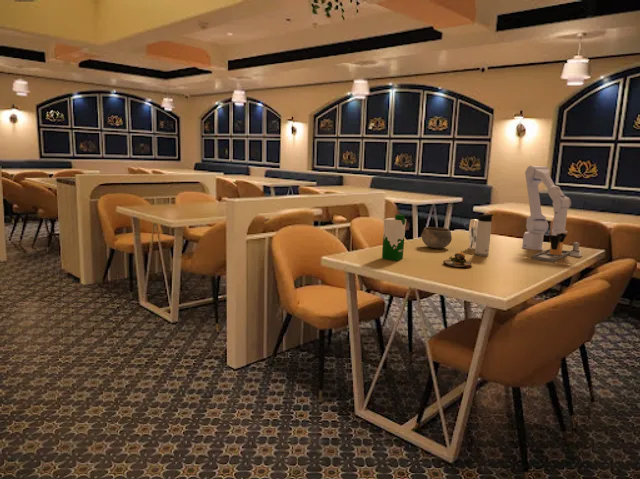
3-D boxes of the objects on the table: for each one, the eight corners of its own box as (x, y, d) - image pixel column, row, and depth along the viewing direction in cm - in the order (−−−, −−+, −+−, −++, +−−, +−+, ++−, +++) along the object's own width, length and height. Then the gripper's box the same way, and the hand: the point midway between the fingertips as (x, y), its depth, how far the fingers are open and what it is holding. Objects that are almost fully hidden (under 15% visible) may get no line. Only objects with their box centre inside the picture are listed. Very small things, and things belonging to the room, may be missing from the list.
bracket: (568, 256, 247) (568, 250, 246) (570, 255, 250) (571, 249, 250) (578, 258, 244) (579, 252, 243) (581, 256, 247) (581, 250, 247)
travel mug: (489, 256, 237) (494, 215, 234) (475, 255, 238) (479, 214, 235) (488, 254, 243) (492, 213, 240) (474, 253, 245) (478, 212, 241)
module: (549, 254, 248) (551, 241, 247) (552, 253, 251) (553, 240, 250) (559, 255, 245) (560, 242, 244) (561, 254, 248) (563, 241, 247)
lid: (531, 259, 236) (531, 255, 236) (540, 255, 246) (540, 252, 245) (553, 262, 230) (554, 259, 229) (561, 259, 239) (562, 255, 239)
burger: (437, 263, 218) (439, 246, 216) (460, 262, 222) (461, 246, 221) (454, 270, 207) (455, 252, 205) (477, 268, 211) (479, 251, 210)
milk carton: (398, 261, 217) (401, 216, 213) (379, 258, 221) (381, 214, 218) (405, 258, 224) (408, 214, 221) (386, 255, 228) (389, 212, 225)
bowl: (416, 245, 260) (417, 226, 258) (442, 245, 264) (443, 226, 263) (429, 250, 247) (431, 230, 245) (456, 250, 251) (458, 230, 250)
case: (539, 255, 245) (540, 252, 245) (550, 251, 258) (550, 248, 257) (561, 259, 239) (561, 255, 238) (570, 255, 251) (571, 251, 251)
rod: (571, 256, 247) (573, 242, 246) (572, 256, 249) (574, 242, 248) (576, 257, 245) (578, 243, 244) (578, 256, 247) (580, 243, 246)
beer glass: (464, 247, 259) (467, 219, 257) (474, 247, 262) (477, 218, 260) (473, 250, 253) (476, 221, 251) (484, 249, 256) (487, 220, 254)
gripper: (564, 223, 237) (560, 251, 239) (572, 221, 248) (569, 248, 250) (548, 221, 242) (545, 249, 244) (557, 219, 253) (554, 246, 255)
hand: (556, 248), depth 248 cm, fingers open, 7 cm apart
